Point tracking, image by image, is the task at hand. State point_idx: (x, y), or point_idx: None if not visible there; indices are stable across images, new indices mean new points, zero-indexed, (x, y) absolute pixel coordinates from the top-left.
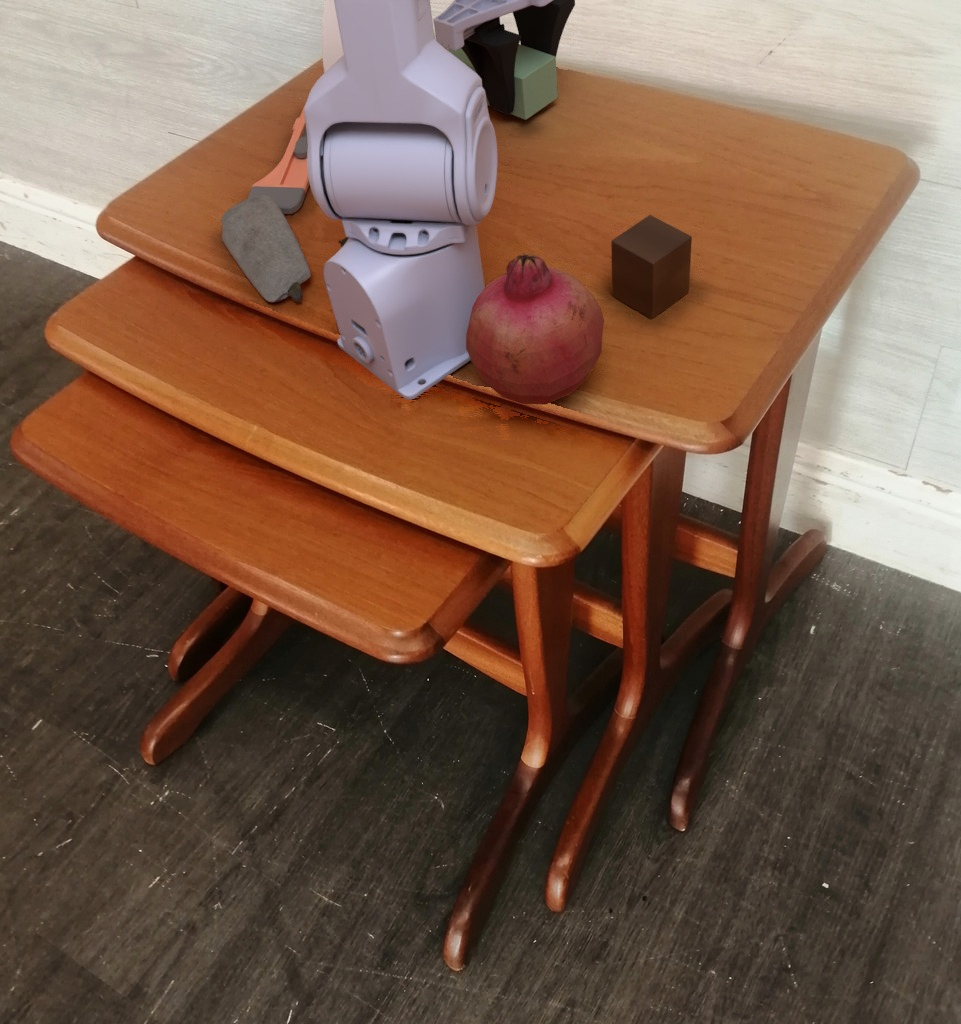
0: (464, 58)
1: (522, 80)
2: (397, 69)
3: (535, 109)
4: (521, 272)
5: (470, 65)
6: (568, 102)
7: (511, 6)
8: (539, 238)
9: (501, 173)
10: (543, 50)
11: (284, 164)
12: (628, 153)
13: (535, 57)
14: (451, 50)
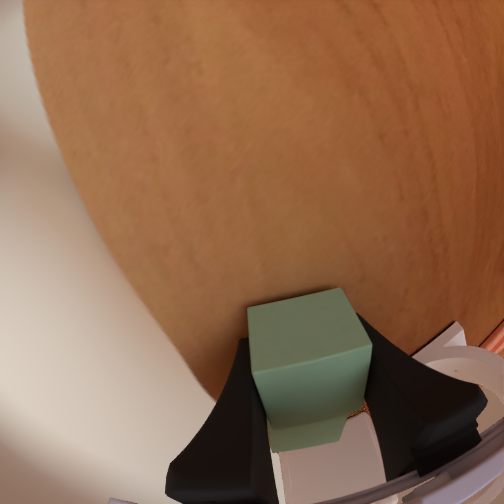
0: (337, 427)
1: (370, 342)
2: None
3: (314, 297)
4: None
5: (347, 414)
6: (223, 295)
7: (460, 491)
8: (483, 50)
9: (441, 202)
10: (255, 398)
11: (495, 352)
12: (256, 62)
13: (286, 389)
14: (329, 441)
